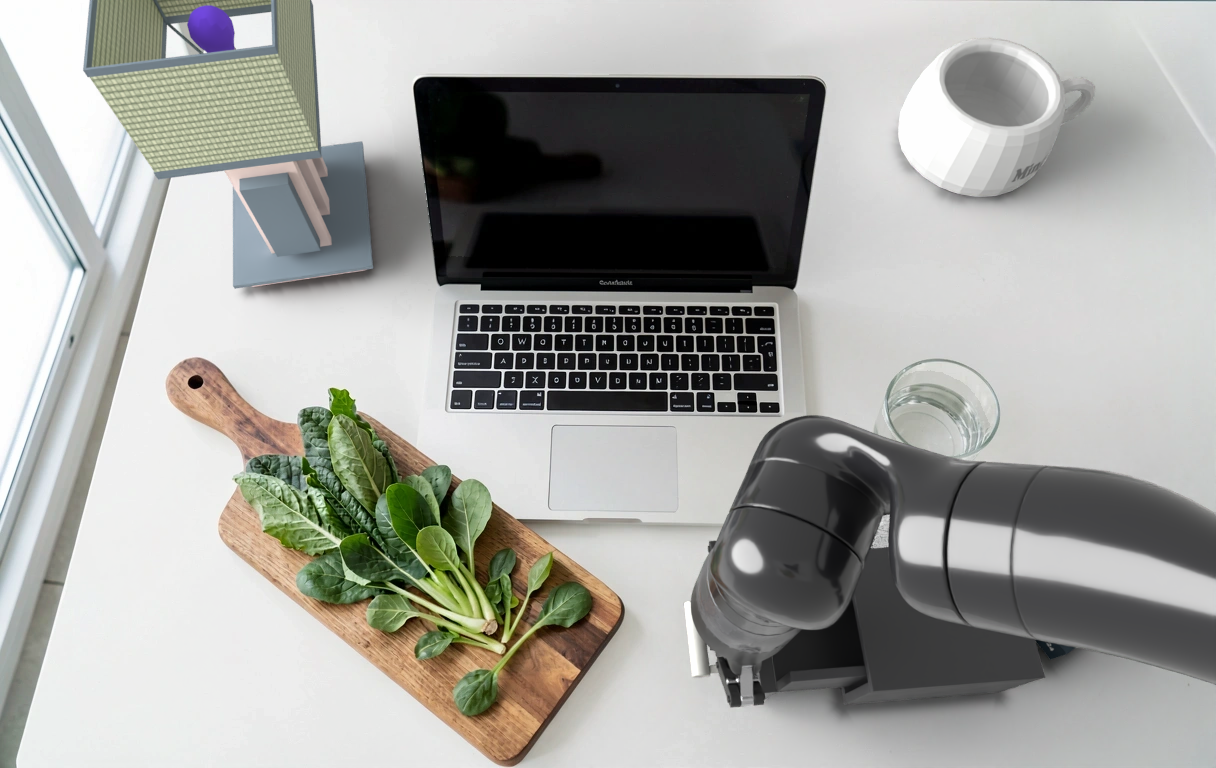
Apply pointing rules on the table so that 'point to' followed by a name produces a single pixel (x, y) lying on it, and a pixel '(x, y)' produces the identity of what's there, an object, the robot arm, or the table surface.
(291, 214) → the desk lamp
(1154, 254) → the table surface
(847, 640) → the drawer
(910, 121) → the mug
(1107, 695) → the table surface
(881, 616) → the grey square sleeve
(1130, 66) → the table surface
